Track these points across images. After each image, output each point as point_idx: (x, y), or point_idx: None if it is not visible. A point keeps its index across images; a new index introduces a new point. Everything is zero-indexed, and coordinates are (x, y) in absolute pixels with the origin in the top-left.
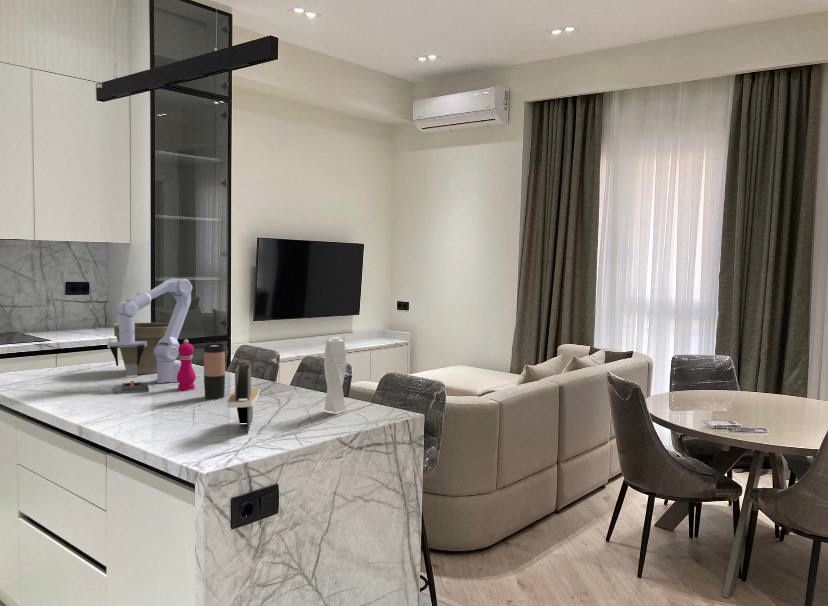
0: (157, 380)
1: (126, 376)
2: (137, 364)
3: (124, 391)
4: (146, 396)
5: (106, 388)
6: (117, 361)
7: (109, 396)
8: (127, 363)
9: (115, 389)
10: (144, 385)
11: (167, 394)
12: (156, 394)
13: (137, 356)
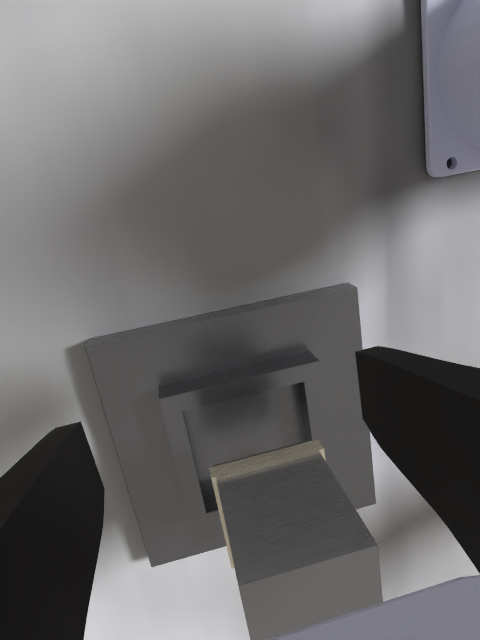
0: (440, 88)
1: (233, 563)
2: (367, 421)
3: (212, 547)
4: None
5: (8, 334)
6: (87, 562)
7: (126, 611)
8: (260, 593)
9: (132, 499)
10: (338, 363)
11: (467, 560)
12: (409, 560)
13: (438, 460)
